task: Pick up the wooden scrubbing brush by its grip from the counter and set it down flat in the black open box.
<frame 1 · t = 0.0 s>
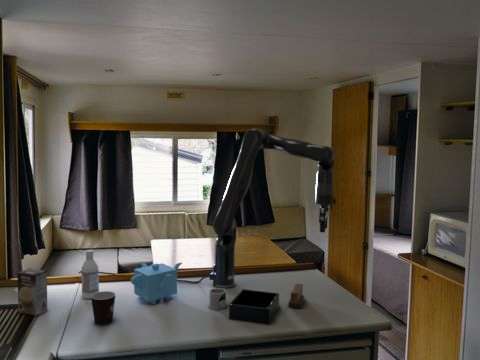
hand: (323, 230, 186), 29 cm above the kitchen counter, tool pointing down, fingers open, 8 cm apart
coffee box: (33, 311, 169), on the kitchen counter
teakettle: (157, 297, 185), on the kitchen counter
mug: (219, 305, 177), on the kitchen counter
bath foam: (90, 296, 186), on the kitchen counter
black open box: (254, 312, 170), on the kitchen counter
coffee mug: (106, 320, 162), on the kitchen counter
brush: (296, 303, 180), on the kitchen counter
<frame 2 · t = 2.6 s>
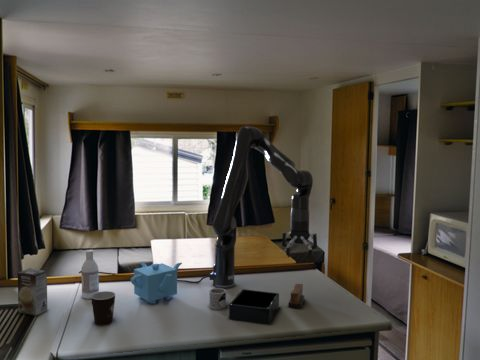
hand: (299, 257, 179), 19 cm above the kitchen counter, tool pointing down, fingers open, 8 cm apart
nothing on the kitchen counter moved.
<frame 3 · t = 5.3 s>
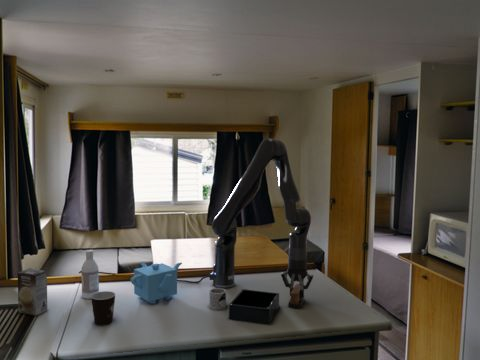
hand: (296, 297, 180), 3 cm above the kitchen counter, tool pointing down, fingers closed on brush, 3 cm apart
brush: (296, 303, 180), on the kitchen counter, touching gripper
everything else where it was.
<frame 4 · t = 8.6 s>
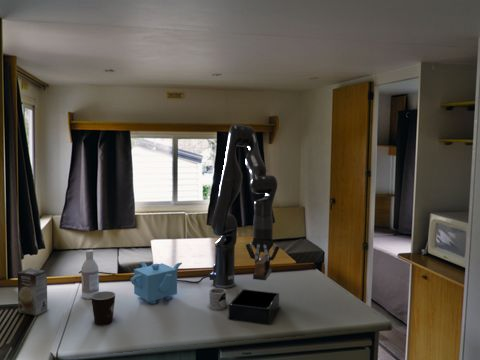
hand: (262, 269, 170), 17 cm above the kitchen counter, tool pointing down, fingers closed on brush, 3 cm apart
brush: (262, 275, 170), point 14 cm above the kitchen counter, touching gripper
everything else where it was.
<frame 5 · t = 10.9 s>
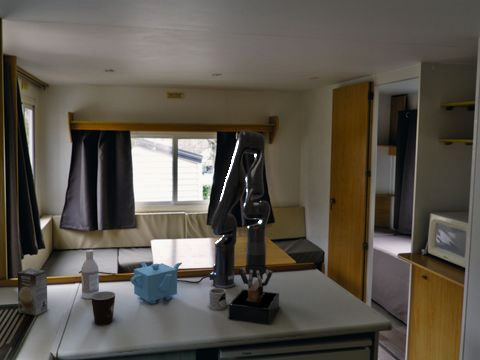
hand: (255, 294, 169), 7 cm above the kitchen counter, tool pointing down, fingers closed on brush, 3 cm apart
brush: (255, 301, 169), point 5 cm above the kitchen counter, touching gripper
everything else where it was.
when the fingers open (3 cm above the kitchen counter, at t = 12.3 s): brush stays where it is, resting on black open box.
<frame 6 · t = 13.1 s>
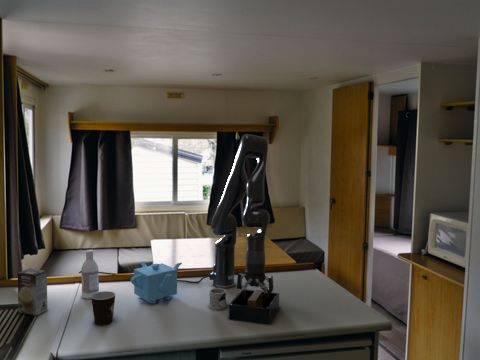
hand: (254, 300, 169), 5 cm above the kitchen counter, tool pointing down, fingers open, 8 cm apart
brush: (255, 310, 170), point 1 cm above the kitchen counter, touching black open box
everything else where it was.
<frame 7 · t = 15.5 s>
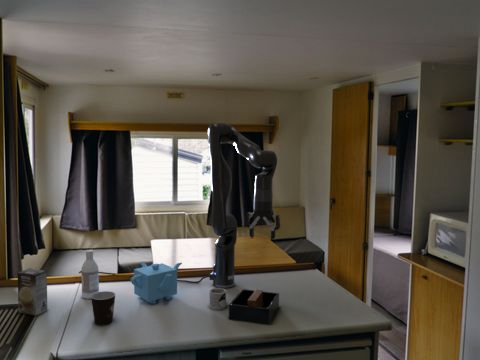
hand: (262, 238, 177), 27 cm above the kitchen counter, tool pointing down, fingers open, 8 cm apart
nothing on the kitchen counter moved.
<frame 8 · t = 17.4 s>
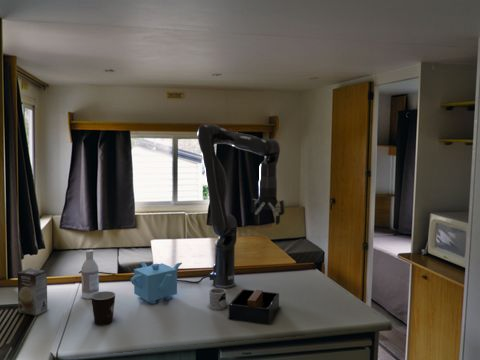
hand: (267, 223, 185), 32 cm above the kitchen counter, tool pointing down, fingers open, 8 cm apart
nothing on the kitchen counter moved.
at the end: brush inside the target area in the black open box (0.2 cm from its centre), point 0.8 cm above the black open box's base; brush tilted 0°; the gripper is holding nothing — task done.
